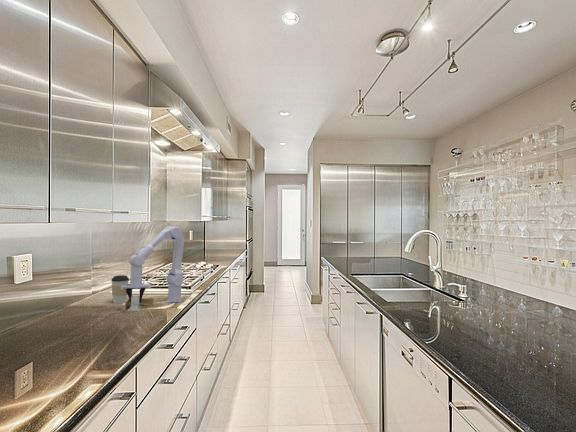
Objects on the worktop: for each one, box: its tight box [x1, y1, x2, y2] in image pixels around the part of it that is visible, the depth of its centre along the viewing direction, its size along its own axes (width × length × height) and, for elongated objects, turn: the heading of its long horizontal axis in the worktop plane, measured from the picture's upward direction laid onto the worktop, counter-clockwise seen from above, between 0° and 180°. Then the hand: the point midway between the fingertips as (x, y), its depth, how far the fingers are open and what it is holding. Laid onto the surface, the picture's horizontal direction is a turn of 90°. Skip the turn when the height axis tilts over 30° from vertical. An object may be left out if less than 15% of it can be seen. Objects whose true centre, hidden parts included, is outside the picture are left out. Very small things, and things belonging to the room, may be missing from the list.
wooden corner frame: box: [120, 297, 154, 313], centre depth 175 cm, size 13×14×4 cm
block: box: [129, 294, 141, 312], centre depth 172 cm, size 7×4×6 cm, turn 19°
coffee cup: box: [111, 274, 130, 304], centre depth 187 cm, size 9×9×15 cm
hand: (135, 302), depth 175 cm, fingers closed on block, 4 cm apart
